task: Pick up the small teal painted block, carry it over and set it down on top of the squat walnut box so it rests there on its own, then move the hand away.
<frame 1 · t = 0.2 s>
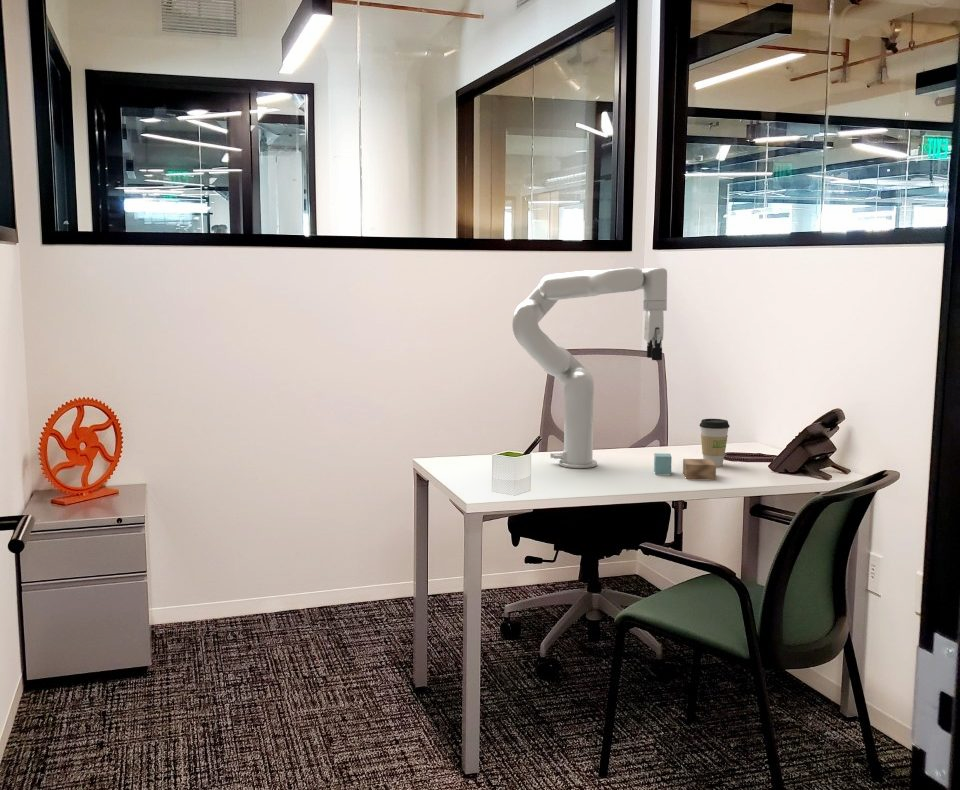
hand: (654, 358, 302), 36 cm above the table, tool pointing down, fingers open, 9 cm apart
coffee cup: (713, 465, 310), on the table
teal block: (662, 473, 297), on the table
walnut box: (698, 477, 292), on the table
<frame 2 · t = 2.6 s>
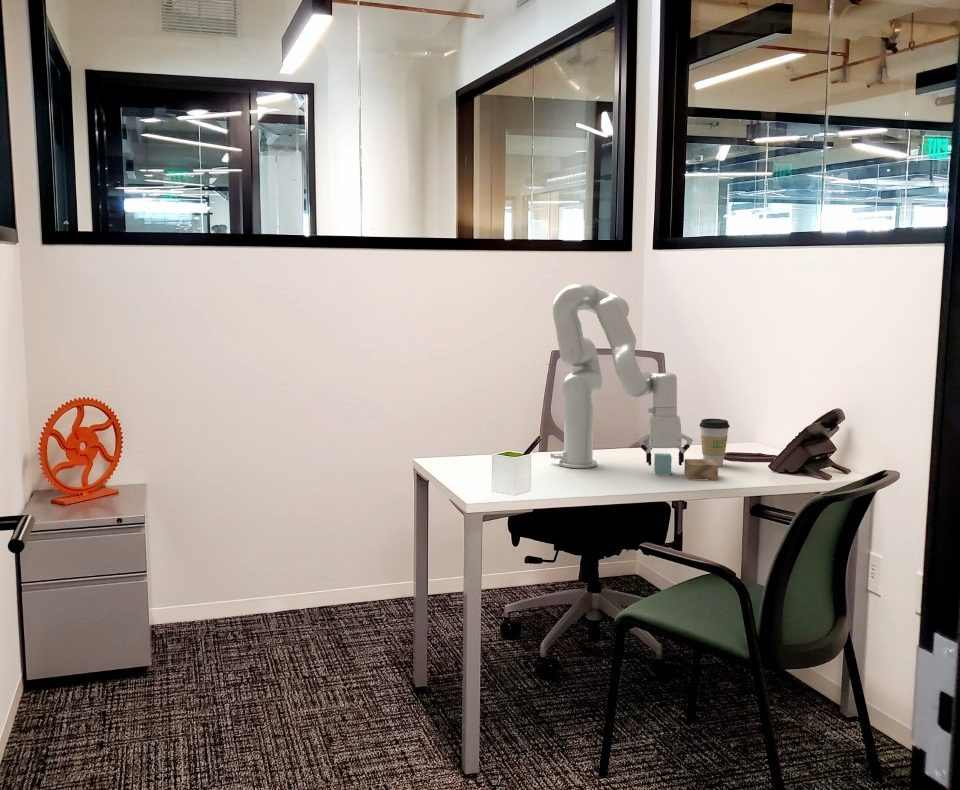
hand: (665, 464, 296), 3 cm above the table, tool pointing down, fingers open, 9 cm apart
nothing on the table moved.
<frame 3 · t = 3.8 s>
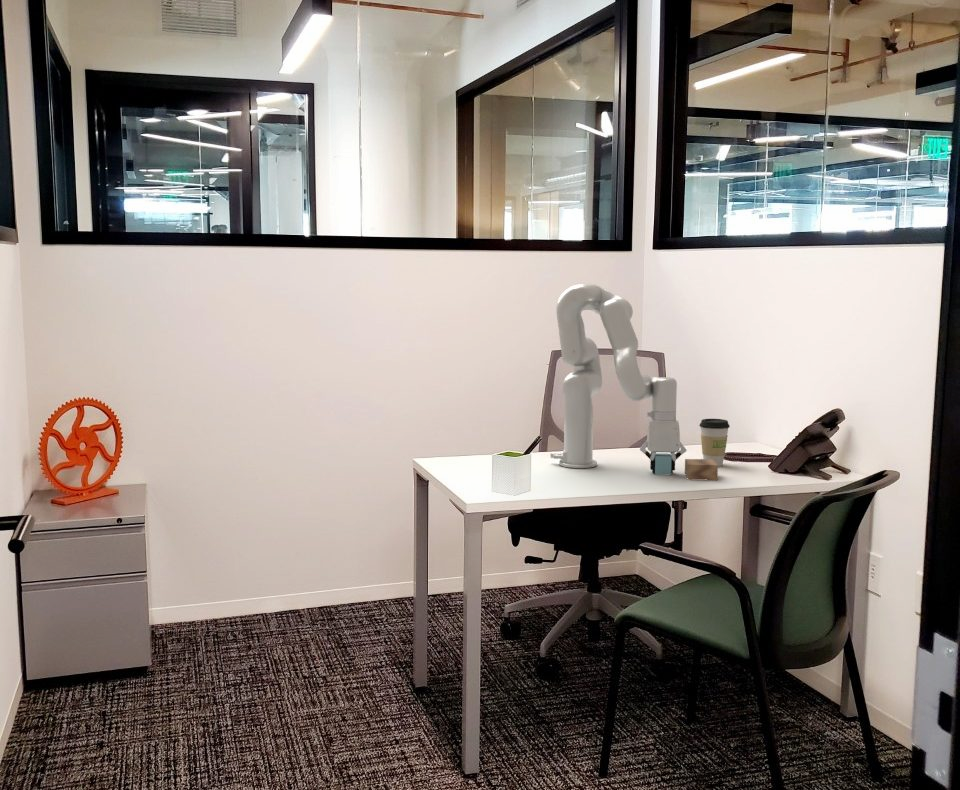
hand: (662, 471, 297), 0 cm above the table, tool pointing down, fingers closed on teal block, 5 cm apart
teal block: (662, 473, 297), on the table, touching gripper
everything else where it was.
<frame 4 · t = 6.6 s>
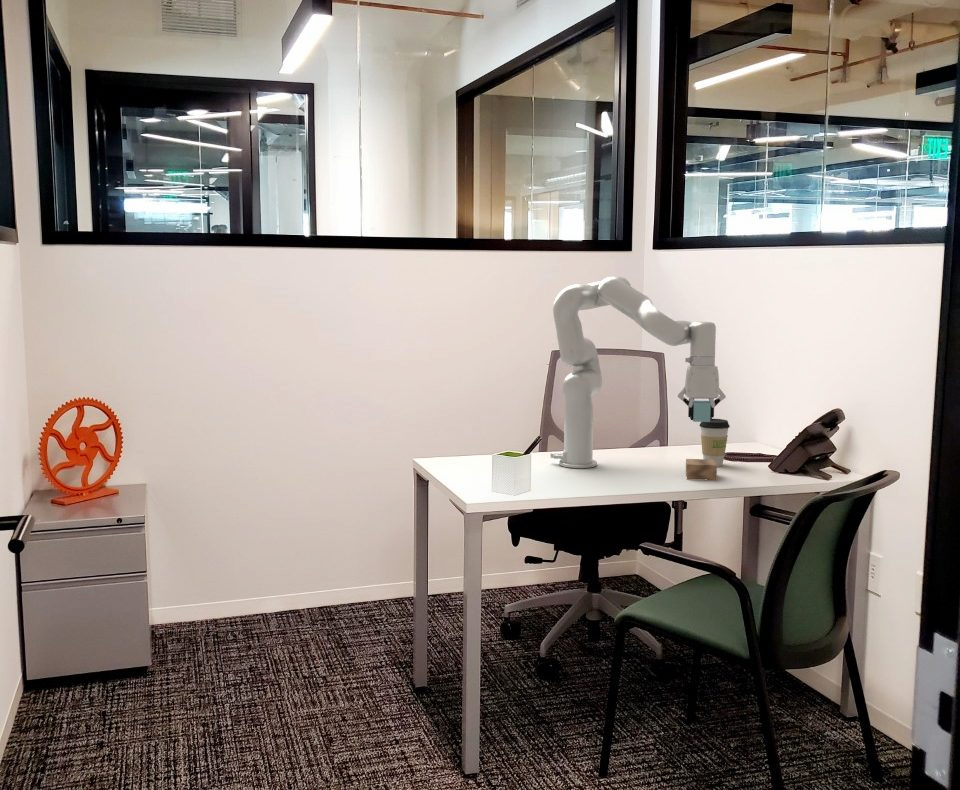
hand: (700, 419, 289), 18 cm above the table, tool pointing down, fingers closed on teal block, 5 cm apart
teal block: (700, 420, 289), point 18 cm above the table, touching gripper
everything else where it was.
when the fingers open (7 cm above the table, at t = 9.3 s): teal block drops 2 cm, point 5 cm above the table.
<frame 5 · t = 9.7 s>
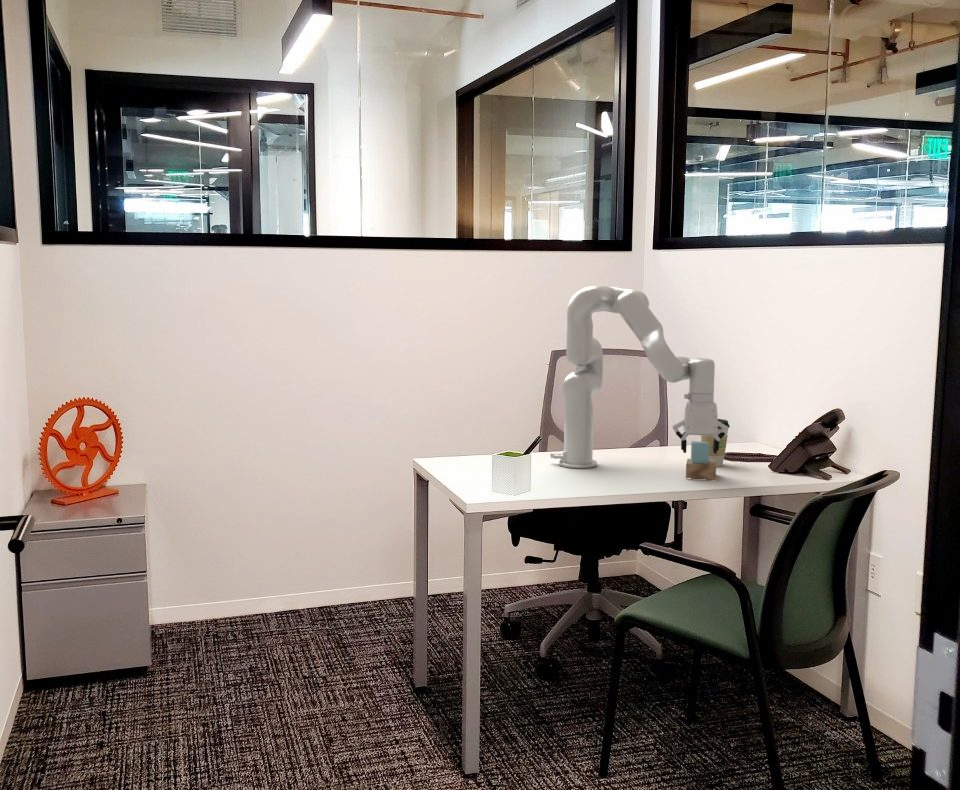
hand: (699, 452, 291), 8 cm above the table, tool pointing down, fingers open, 9 cm apart
teal block: (699, 461, 291), point 5 cm above the table
everything else where it was.
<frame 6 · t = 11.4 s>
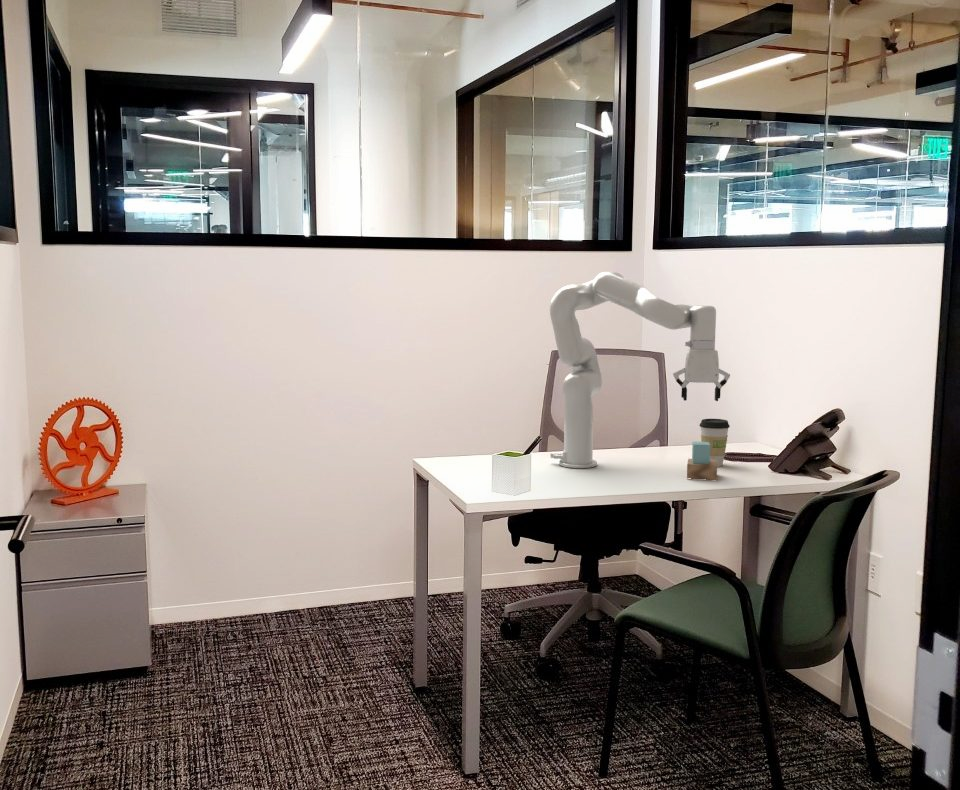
hand: (700, 400, 289), 24 cm above the table, tool pointing down, fingers open, 9 cm apart
nothing on the table moved.
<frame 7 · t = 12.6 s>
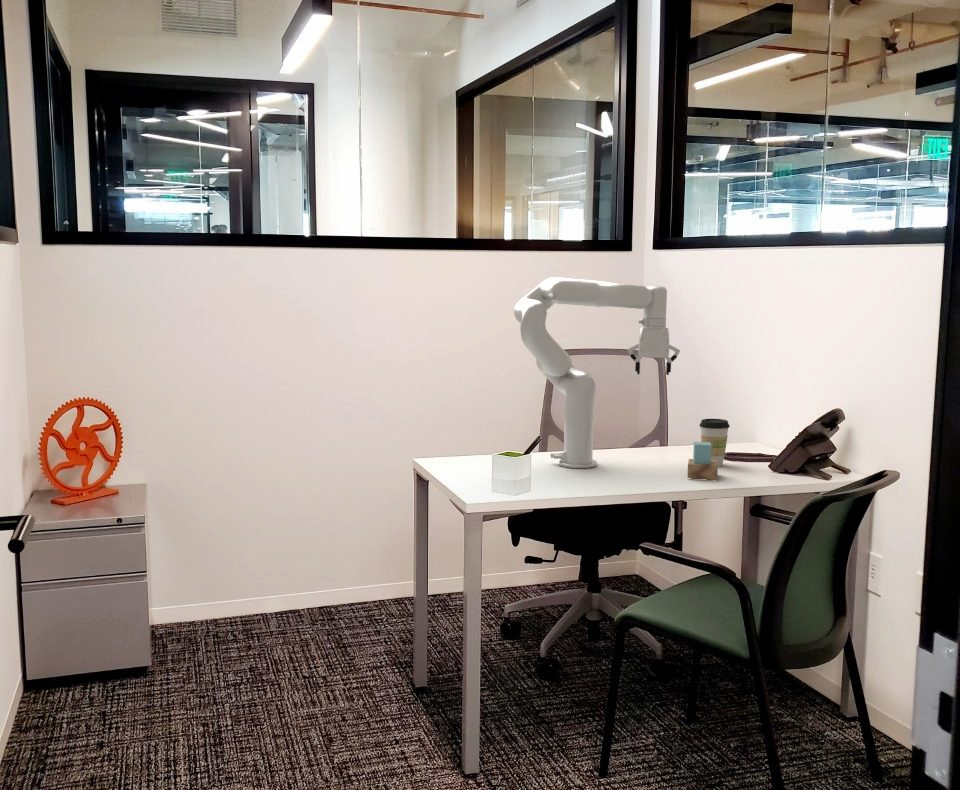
hand: (652, 374, 312), 30 cm above the table, tool pointing down, fingers open, 9 cm apart
teal block: (701, 462, 291), point 5 cm above the table, touching walnut box
walnut box: (702, 477, 292), on the table, touching teal block
everything else where it was.
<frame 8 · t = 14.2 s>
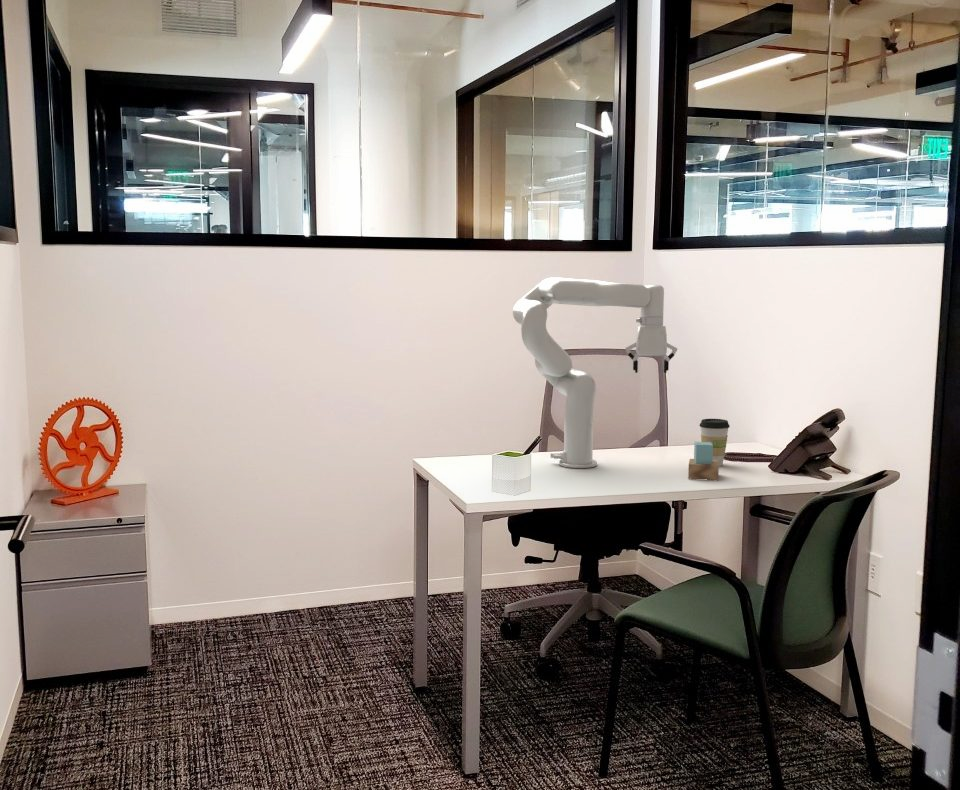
hand: (650, 372, 313), 30 cm above the table, tool pointing down, fingers open, 9 cm apart
teal block: (703, 462, 291), point 5 cm above the table
walnut box: (703, 477, 292), on the table
everything else where it was.
at the end: teal block 0.4 cm off-centre on the walnut box, point 5.0 cm above the walnut box's base; teal block tilted 0°; teal block touching nothing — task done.
